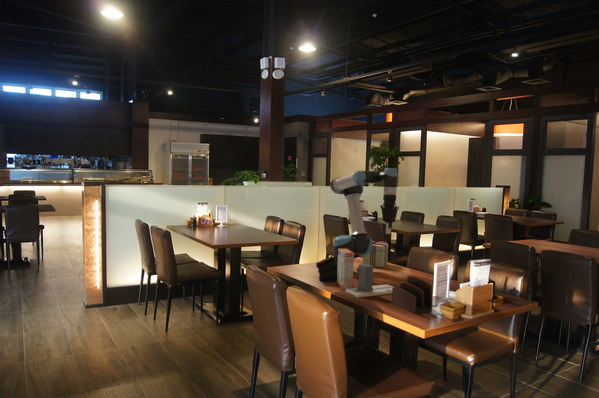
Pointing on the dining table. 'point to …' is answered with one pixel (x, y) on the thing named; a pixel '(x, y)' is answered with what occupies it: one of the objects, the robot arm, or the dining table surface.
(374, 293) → the switch board
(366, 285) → the slider knob
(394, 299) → the letter holder
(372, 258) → the gift box
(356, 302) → the dining table surface
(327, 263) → the black piece
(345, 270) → the cracker box
